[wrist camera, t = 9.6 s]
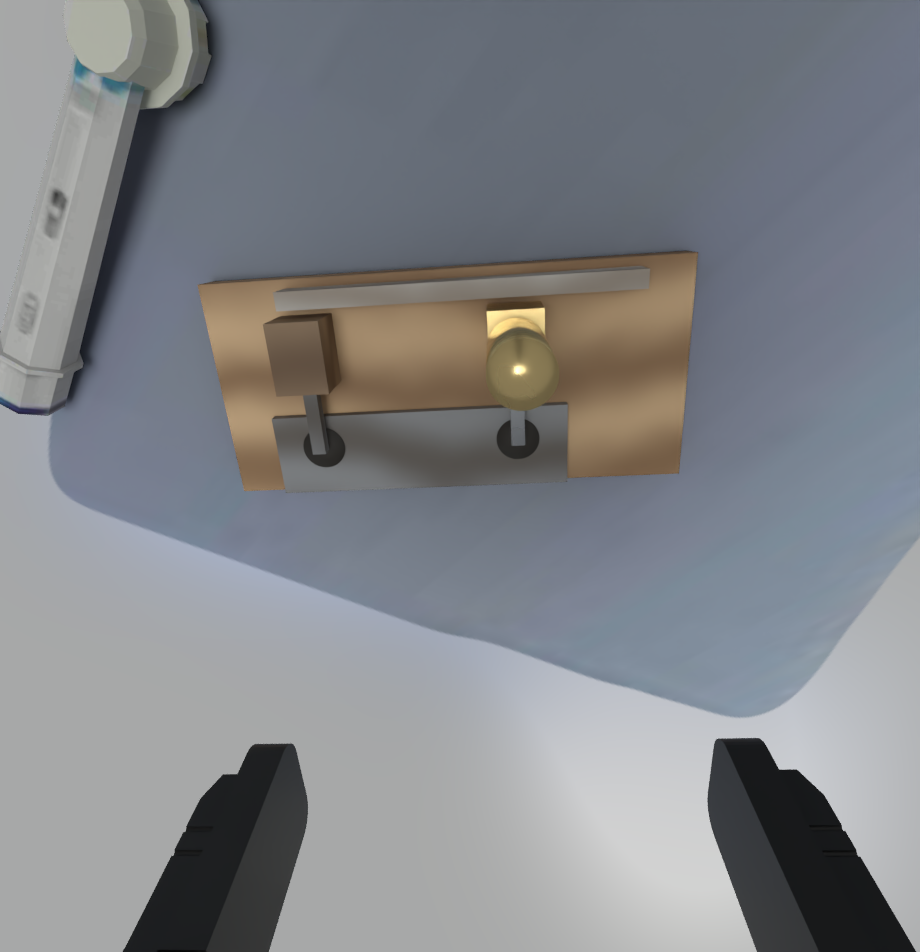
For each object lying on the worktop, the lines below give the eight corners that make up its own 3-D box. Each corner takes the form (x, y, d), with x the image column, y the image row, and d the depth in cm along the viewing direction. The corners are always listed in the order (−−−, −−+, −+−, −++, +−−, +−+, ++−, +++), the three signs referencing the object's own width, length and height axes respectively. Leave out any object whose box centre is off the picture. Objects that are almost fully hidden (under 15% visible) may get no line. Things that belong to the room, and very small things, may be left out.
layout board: (212, 281, 36) (181, 288, 32) (686, 250, 34) (710, 254, 30) (255, 478, 41) (232, 504, 37) (669, 461, 39) (688, 486, 35)
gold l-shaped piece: (484, 304, 34) (483, 331, 25) (542, 300, 33) (559, 326, 25) (491, 437, 37) (491, 500, 28) (543, 435, 36) (559, 498, 28)
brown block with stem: (280, 315, 35) (262, 324, 32) (331, 312, 34) (317, 320, 32) (303, 445, 38) (289, 462, 35) (350, 443, 37) (339, 460, 35)
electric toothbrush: (-42, 385, 35) (36, -107, 23) (40, 350, 41) (136, -59, 29) (43, 431, 36) (160, -19, 24) (111, 391, 42) (233, 10, 30)
